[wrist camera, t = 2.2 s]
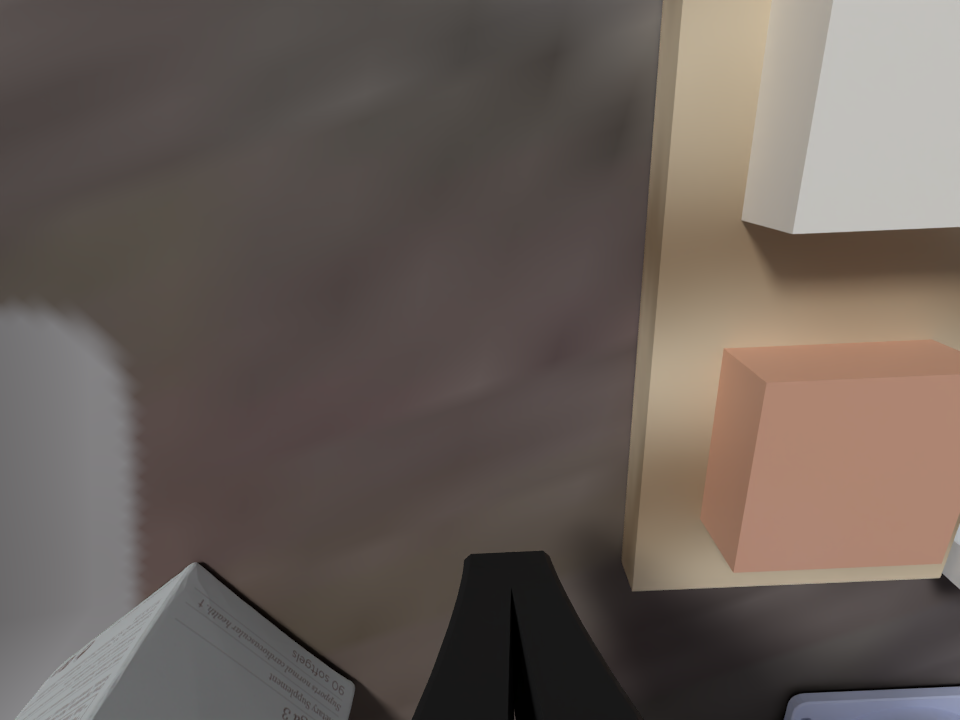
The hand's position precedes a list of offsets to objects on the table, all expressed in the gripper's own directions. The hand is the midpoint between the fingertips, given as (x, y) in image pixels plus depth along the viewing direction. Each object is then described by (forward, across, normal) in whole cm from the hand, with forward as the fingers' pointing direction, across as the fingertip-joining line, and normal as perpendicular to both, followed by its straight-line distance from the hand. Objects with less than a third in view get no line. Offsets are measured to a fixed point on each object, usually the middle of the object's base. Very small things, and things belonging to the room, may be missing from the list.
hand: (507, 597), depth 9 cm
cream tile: (+5, -8, -8) cm, 12 cm away
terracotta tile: (+5, -8, 0) cm, 9 cm away
